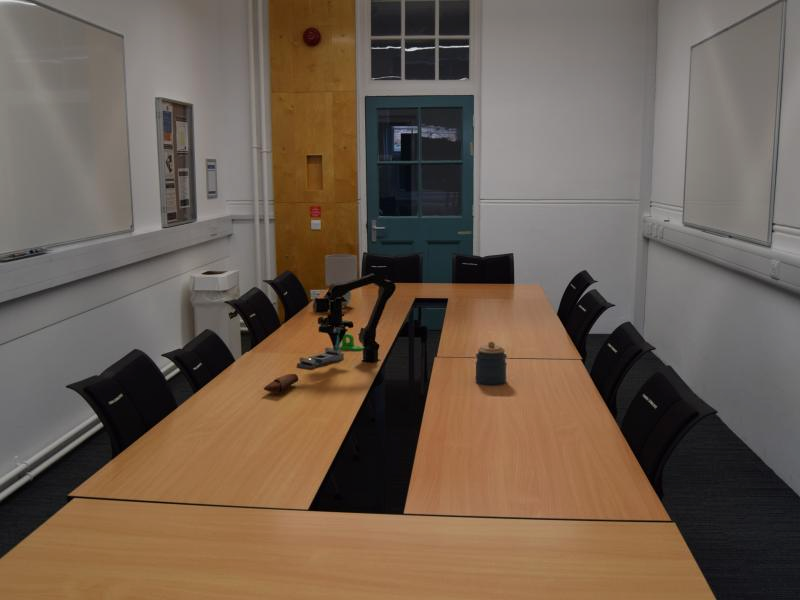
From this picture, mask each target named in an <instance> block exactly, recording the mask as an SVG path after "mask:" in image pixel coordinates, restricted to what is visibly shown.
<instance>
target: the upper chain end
mask: <svg viewBox="0 0 800 600" xmlns="http://www.w3.org/2000/svg"><path fill="white" fill-rule="evenodd" d="M344 355H345V354H344V352H342V350H333V347H329V346H327V347H325V349H324V352H321V353H319V354H316V355H312V356H309V357H307V358H309V359H315V360H316V362H321V363H322V362H326V361H329V360H333V363H336V362H338V361H342V360H344V359H345V358H344V357H345V356H344Z"/></svg>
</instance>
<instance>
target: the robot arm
mask: <svg viewBox="0 0 800 600" xmlns="http://www.w3.org/2000/svg"><path fill="white" fill-rule="evenodd" d="M371 284H374V285H375V286H377V287H378V291H377V295H378V296H377V300H376V302H375V304H374V307H373V310H372V312H371V313H370V314H371V315H370V317H369V319H368V322H367V324H366V325H365V327H363V326H362V327H361V328H360V331H359V333H358V335H357V336H358V341H359V343H360V344H362V345H361V346H363V347H365V348H363V350H362V360H361V362H364V363H371V364H374V363H376V362H379V361H381V359H379V349H380V344H379V343H378V342H377V341H376V338H377V328H378V326H379V322H380V320H381V317H382V316H383V313H384V310H385V307H386V306H387V302H388V301H389V300H390V298H391V297H392V296H393V294H394V293H395V291H396V289H397V288H396V287H397V286H396V284H395V283H394V281H392V280H388V279H384V278H382V277H379V276H378V275H377V274H374V273H369V274H367V275H365V276H361V277H357V279H355V280H352V281H349V282H345V283H335V284H331V285H330V286H329V285H328V288H327V289H328V291H327V292H326V293H325V295H324V296H323V297H314V300H313V303H312V310H313V313H314V314H320V313H327V312H328V311H329V313H327V316H326V317H324V316H319V317H317V325H319V326H318V333H322V334H327V335H328V336H329V338H330V341H331V343H332V344H331V345H332V347H333V346H335V345H336V341H337V336H338V332H336V330H341V333H340V344H342V339H343V337H344V335H345V334H347V331H348V330H349V329H352V328H353V329H354V322H353V320H343V317H345V313H343V308H342V302H347V300H346V299H345V298H344V297H343V295H345V294H347V293H348V292H349V291H350V292H351V291H354V290H356V289H359V288H363V287H366V286H368V285H371ZM339 297H340V298H339ZM346 327H347V328H348V329H347V328H346Z"/></svg>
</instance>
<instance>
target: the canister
mask: <svg viewBox="0 0 800 600" xmlns="http://www.w3.org/2000/svg"><path fill="white" fill-rule="evenodd" d="M487 343H488V344H487V345H485V344H484V345H481V346H480V347H478V348H477V353H476V354H475V357H476V361H475V377H474V378H475V379H474V380H475V383H476V384H478V385H482V386H489V387H490V386H491V387H494V386H495V387H496V386H502V385H505V384H506V382H507V364H508V363H507V362H506V360H507V356H508V355H507V354H506V353H505V352H506V350H505V348H503V347H502V346H501V345H496V344H495V342H494V341H489V342H487Z"/></svg>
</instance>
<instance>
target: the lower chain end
mask: <svg viewBox="0 0 800 600" xmlns="http://www.w3.org/2000/svg"><path fill="white" fill-rule="evenodd" d="M333 363H334V362H333V360H329V361H326V362H322V363H321V362H316V360H315V359H309V358H308V357H299V361H298V363H296V368H301V369H307V370H312V369H316V368H319V367H322V366H326V365H329V364H333Z"/></svg>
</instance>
